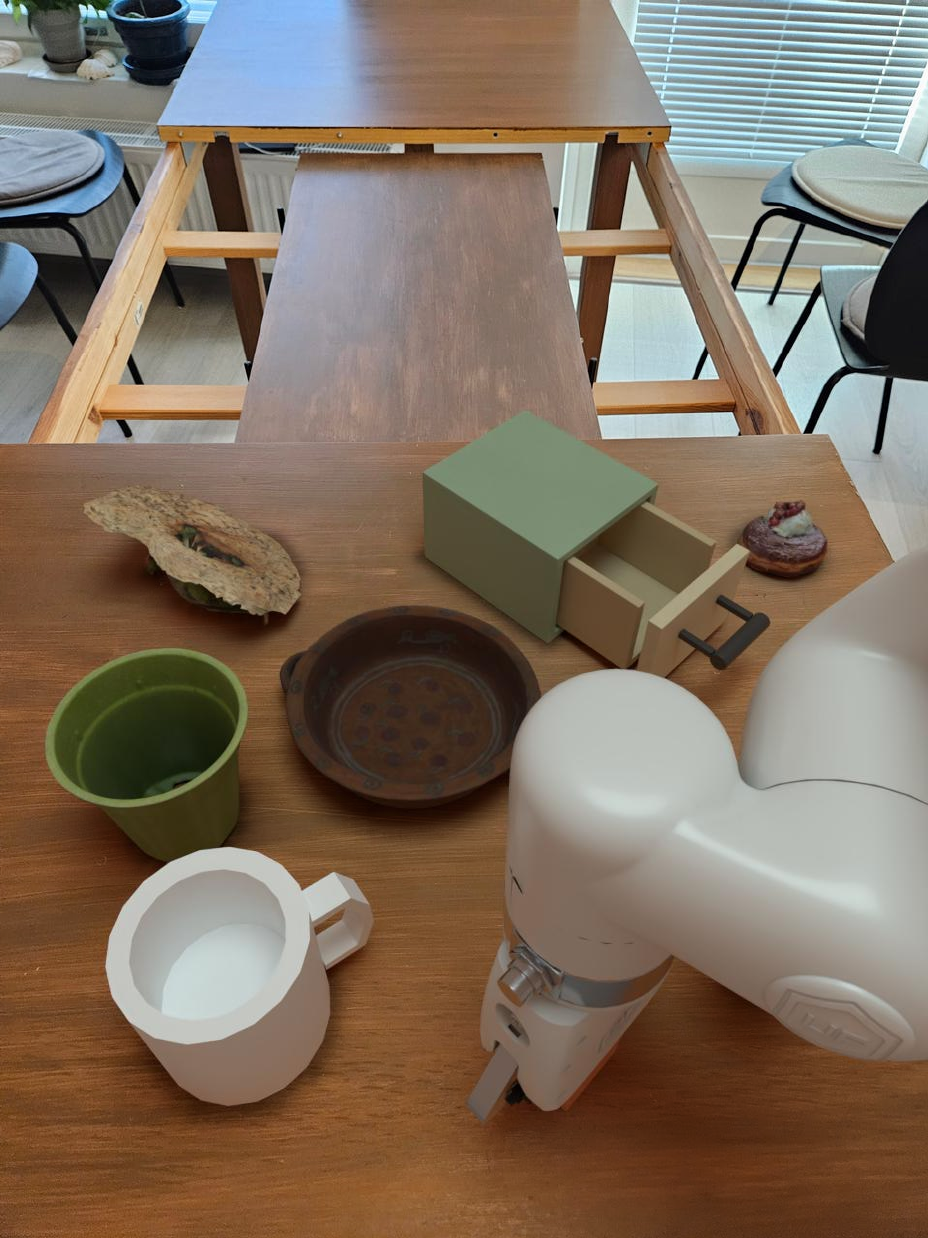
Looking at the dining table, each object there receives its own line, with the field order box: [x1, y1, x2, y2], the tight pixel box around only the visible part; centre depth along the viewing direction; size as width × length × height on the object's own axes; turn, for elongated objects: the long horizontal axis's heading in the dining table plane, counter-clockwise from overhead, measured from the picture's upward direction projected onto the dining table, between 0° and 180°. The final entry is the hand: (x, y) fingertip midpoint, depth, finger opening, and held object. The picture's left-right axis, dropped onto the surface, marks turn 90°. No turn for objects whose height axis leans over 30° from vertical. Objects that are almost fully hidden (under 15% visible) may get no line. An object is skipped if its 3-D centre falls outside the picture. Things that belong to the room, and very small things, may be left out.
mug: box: [105, 846, 375, 1107], centre depth 50 cm, size 14×10×11 cm
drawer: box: [556, 501, 771, 678], centre depth 70 cm, size 18×11×8 cm, turn 45°
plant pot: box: [44, 647, 249, 863], centre depth 58 cm, size 12×12×11 cm
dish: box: [279, 604, 542, 810], centre depth 65 cm, size 18×22×5 cm
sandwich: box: [83, 484, 302, 626], centre depth 76 cm, size 18×14×8 cm
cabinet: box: [422, 409, 660, 645], centre depth 76 cm, size 15×13×10 cm
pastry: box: [738, 499, 828, 578], centre depth 79 cm, size 8×8×5 cm
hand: (561, 1048), depth 51 cm, fingers closed on block, 4 cm apart
